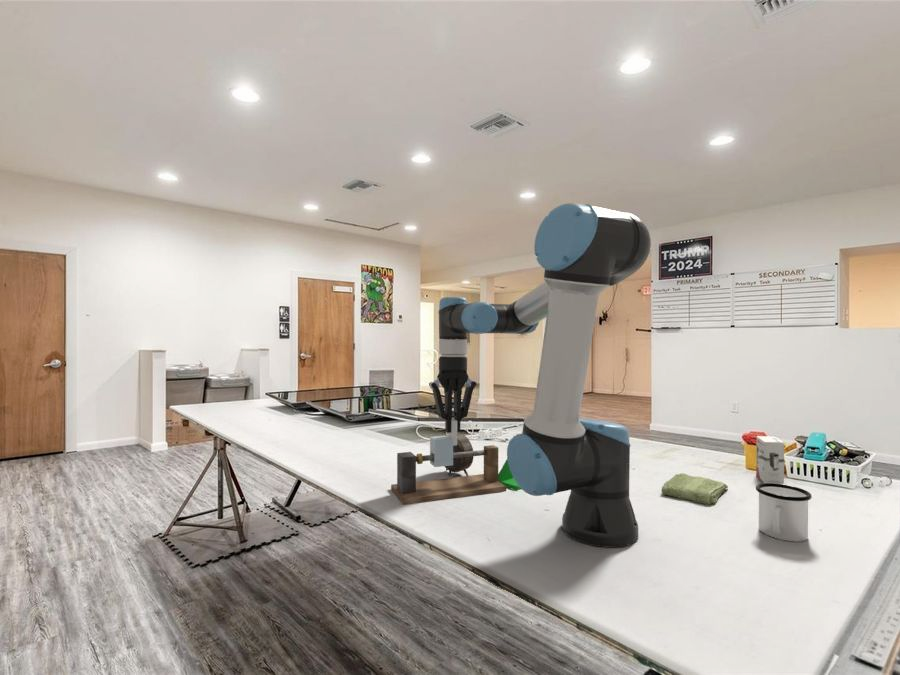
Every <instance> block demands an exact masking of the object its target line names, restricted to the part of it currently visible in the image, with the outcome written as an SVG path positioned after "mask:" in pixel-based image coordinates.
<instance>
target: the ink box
mask: <svg viewBox="0 0 900 675" xmlns="http://www.w3.org/2000/svg"><path fill="white" fill-rule="evenodd" d="M755 467H756V469H755V472H756V474H755V475H756V476H757V477H758V478H759V480H761V481H762V482H763V483H775V484H784V485H785V442H784V441H783V440H781V439H780V438H778V437H777V436H767V435H765V436H763V435H756V466H755Z"/></svg>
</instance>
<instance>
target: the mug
mask: <svg viewBox="0 0 900 675" xmlns="http://www.w3.org/2000/svg"><path fill="white" fill-rule="evenodd" d="M755 490H756V491H757V493H758V530H759V531H760V532H762V533H763V534H764V533H765V535H766V536H768V535H769V536H768V537H770V536H771V538H773V537H774V538H773V539H776V538H777V540H781V541H785V540H786V542H793V541H794V542H795V543H798V542H799V541H800V542H803V541H806V540H808V539H809V501H810V500H811V499H812V493H811V492H809V491H808V490H805V489H803V488H801V487H797V486H794V485H788V484H784V485H783V484H775V483H764V482H763V483H758V484H757V485H755Z"/></svg>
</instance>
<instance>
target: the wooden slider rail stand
mask: <svg viewBox="0 0 900 675" xmlns="http://www.w3.org/2000/svg"><path fill="white" fill-rule="evenodd" d="M396 455H397V456H396V461H397V462H396V463H397V464H396V465H397V466H396V468H397V470H396V471H397V472H396V483H394V484H391V487H390V490H391V491H392V493H394V495H395V496H396V498H398V500H399V501H400V502H401V504H402V505H409V504H415V503H422V502H431V501H438V500H445V499H452V498H462V497H469V496H476V495H483V494H484V495H485V494H491V493H493V494H494V493H498V492H499V493H500V492H506V491H507V487H506V486H505V485H503V484H502V483H500V482H499V481H498V474H499V447H498V446H496V445H494V444H492V445H483V449H481V450H473V451H467V452H457V453H453V458H461V457H471V456H474V457H480V456H483V473H482V474H481V473H480V474H473V475H468V476H466V475H463V476H456V477H448V478H436V479H429V480H428V479H427V480H421V481H417V465H422V464H423V462H430V461H431V460H434V455H430V454H426V455H423V454H422V453H417V454H416V455H415V454H414V453H413V452H411V451H405V452H397V453H396Z"/></svg>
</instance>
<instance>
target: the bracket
mask: <svg viewBox="0 0 900 675" xmlns="http://www.w3.org/2000/svg"><path fill="white" fill-rule="evenodd" d="M498 481H499V482H500V483H502V484H503V485H505V486H506V488H508V489H512V490H514V491H521V490H522V489H521V488H520V487H519V486H518V484H517V483H516V481H515V480H514V478H513V475H512V473H511V471H510V469H509V465H508V460H507V459H506V460H505V462H504V464H503V465H502V467H501V469H500V471H498Z"/></svg>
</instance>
